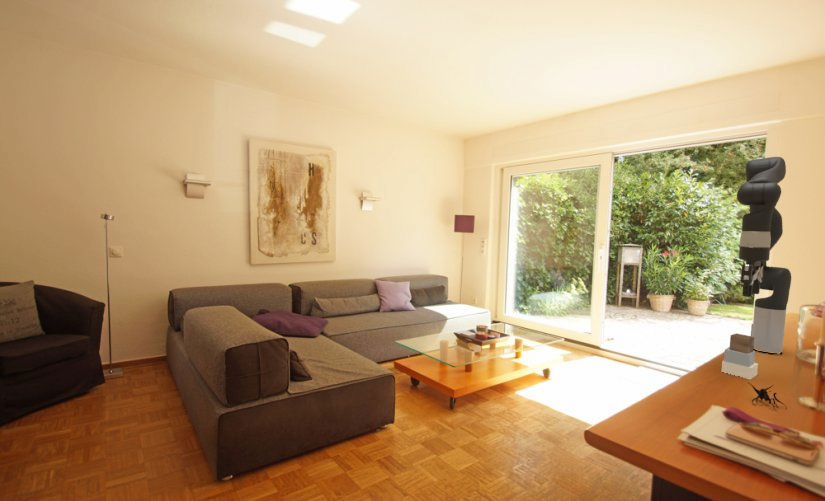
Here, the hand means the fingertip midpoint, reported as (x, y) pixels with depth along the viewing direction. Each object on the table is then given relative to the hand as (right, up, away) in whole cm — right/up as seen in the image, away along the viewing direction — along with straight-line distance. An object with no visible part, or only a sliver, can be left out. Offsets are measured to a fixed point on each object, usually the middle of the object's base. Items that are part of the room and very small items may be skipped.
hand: (750, 295), depth 130 cm
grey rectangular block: (-3, -22, +1) cm, 22 cm away
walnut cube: (-3, -18, +1) cm, 18 cm away
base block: (-3, -26, +1) cm, 26 cm away
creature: (-14, -28, -22) cm, 38 cm away
